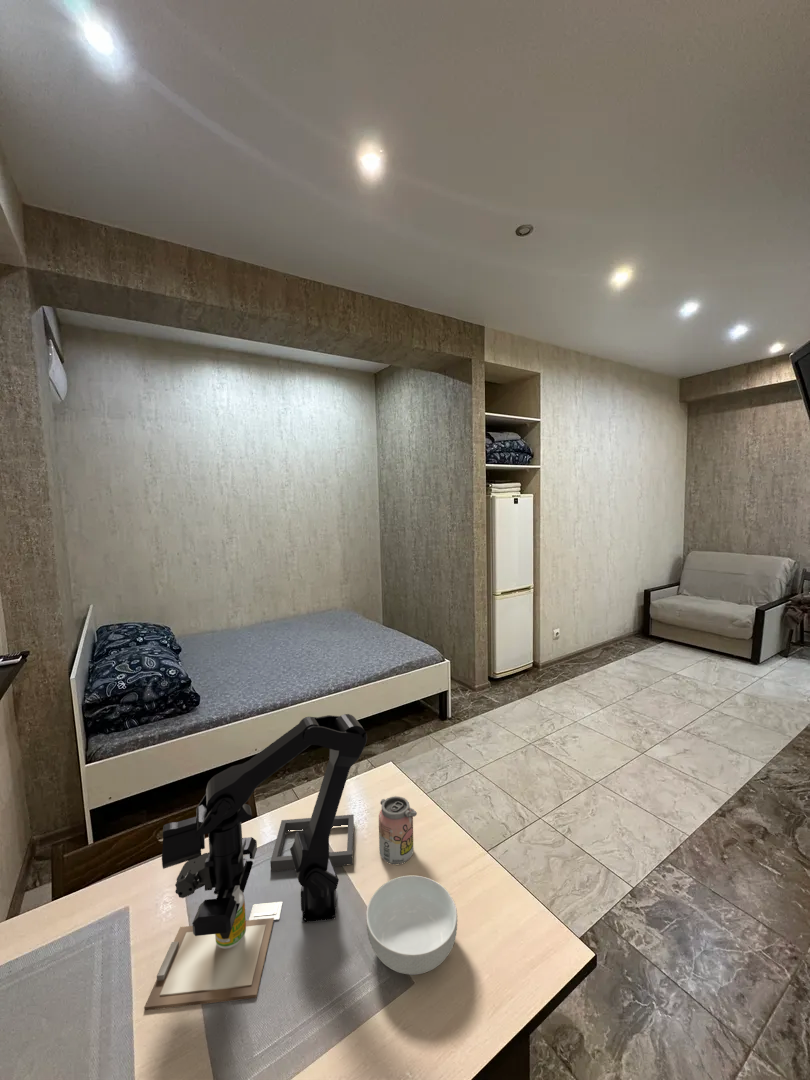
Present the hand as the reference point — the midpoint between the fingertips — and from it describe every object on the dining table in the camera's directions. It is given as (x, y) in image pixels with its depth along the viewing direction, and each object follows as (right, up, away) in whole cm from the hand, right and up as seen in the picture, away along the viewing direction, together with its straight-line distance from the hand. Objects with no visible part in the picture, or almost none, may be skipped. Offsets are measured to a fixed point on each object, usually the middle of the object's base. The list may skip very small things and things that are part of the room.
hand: (230, 923), depth 83 cm
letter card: (+5, -4, +7) cm, 9 cm away
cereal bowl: (+34, -4, -1) cm, 35 cm away
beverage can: (+31, -2, +22) cm, 38 cm away
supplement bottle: (0, -3, 0) cm, 3 cm away
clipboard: (-2, -4, -3) cm, 5 cm away
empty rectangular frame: (+11, -2, +24) cm, 27 cm away
